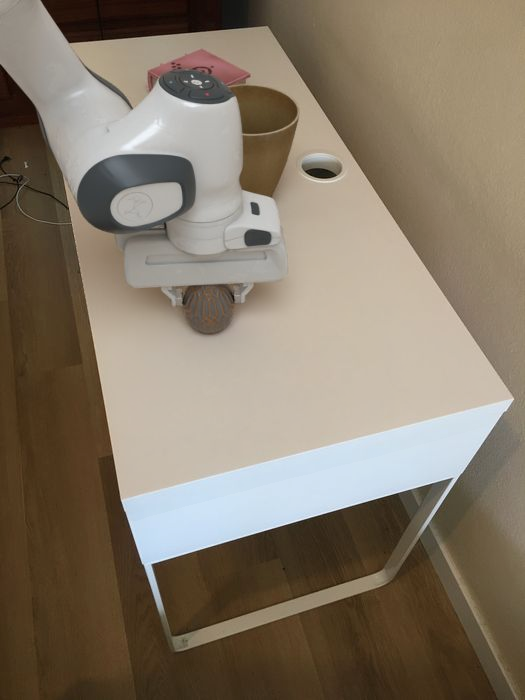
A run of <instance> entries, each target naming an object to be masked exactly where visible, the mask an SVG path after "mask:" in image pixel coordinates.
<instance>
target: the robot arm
mask: <svg viewBox="0 0 525 700" xmlns="http://www.w3.org/2000/svg"><path fill="white" fill-rule="evenodd" d="M0 65H1V67H2V68H3V69H4V70H5V71H6V72H7V74H8V75H9V76H10V77H11V79H12V80H13V81H14V82H15V83H16V84H17V86H18V87H19V88H20V89H21V90H22V92H23V93H24V94H25V95H26V96H27V97H28V98H29V100H30V101H31V102H32V104H33V106H34V108H35V110H36V115H37V118H38V122H39V127H40V131H41V134H42V137H43V140H44V141H45V143H46V145H47V147H48V149H49V151H50V152H51V154H52V156H53V158H54V159H55V160H56V162H57V164H58V166H59V169H60V171H61V174H62V175H63V177H64V179H65V182H66V184H67V186H68V189H69V191H70V193H71V195H72V197H73V199H74V201H75V203H76V205H77V208H78V210H79V212H80V214H81V215H82V217H83V218H84V219H85V221H87V223H88V224H90V225H91V226H92V227H94V228H95V229H97V230H99V231H102V232H103V233H108V234H113V235H114V238H115V243H116V246H117V248H118V249H119V251H121V252H122V253H123V275H124V280H125V281H124V282H125V283H126V284H127V285H128V286H130V287H131V288H133V289H141V288H142V289H144V288H146V289H147V288H160V290H161V292H162V293H163V294H164V295H165V296H167V297H168V299H170V301H171V306H172V307H183V297H184V291H183V288H177V287H188V286H191V285H212V284H228V285H233V284H239V285H233V286H232V293H233V297H234V303H235V304H245V303H246V296H247V295H248V293H249V292H250V291H251V290H252V289H253V288H254V285H255V284H256V283H274V282H282V281H284V279H286V277H287V276H288V275H289V259H288V258H289V257H288V252H287V244H286V240H285V235H284V229H283V226H282V222H281V221H282V220H281V214H280V211H279V208H278V205H277V203H276V200H275V198H273V197H268V196H263V195H259V194H255V193H251V192H248V191H244V190H242V188H241V185H240V182H239V177H240V174H241V171H242V167H243V136H242V123H241V116H240V110H239V105H238V101H237V98H236V96H235V94H234V93H233V92H232V91H231V89H230V88H229V87H228V86H227V85H226V84H225V83H224V82H222V81H221V80H220V79H218V78H217V77H215V76H213V75H210V74H207V73H204V72H202V71H198V70H192V69H177V70H172V71H168V72H166V73H164V74H162V75H161V76H160V77H159V78H158V80H157V82H156V84H155V86H154V87H153V89H152V90H151V92H150V91H149V93H148V94H146V96H145V97H144V98H143V99H142V100H141V101H140V102H139V103H138V104H137V105H136V106H135V107H134V108H133V106H132V103H131V102H130V100H129V99H128V97H127V96H126V95H125V93H124V92H122V91H121V90H120V89H119V88H118V86H116V85H114V84H113V83H111V82H110V81H108V80H107V79H105V78H104V77H103V76H100V75H99V74H97V73H96V72H95V71H93V70H92V69H90V68H89V67H88V66H86V64H84V62H83V61H82V59H81V58H80V57H79V56H78V54H77V53H76V51H75V50H74V48H73V47H72V46H71V44H70V42H69V41H68V40H67V37H66V36H65V34H63V32H62V31H61V29H60V28H59V26H58V25H57V23H56V22H55V20H54V19H53V17H52V16H51V14H50V13H49V12H48V10H47V8H46V7H45V5H44V4H43V2H42V0H0Z"/></svg>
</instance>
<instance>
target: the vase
mask: <svg viewBox="0 0 525 700" xmlns="http://www.w3.org/2000/svg"><path fill="white" fill-rule="evenodd" d="M235 306H236V303H234V297H233V290H232V289H231V287H230V286H229V284H212V285H191V286H186V289H185V290H184V293H183V306H182V310H183V314H184V317H185V319H186V321H187V323H188V324H189V325H190V326H191V327H192V328H193V329H195V330H196V331H198V332H199V333H202V334H216V333H219V332H221V331H222V330H224V329H225V328H227V326H228V325H229V324H230V323H231V321H232V319H233V316H234V313H235V308H236V307H235Z"/></svg>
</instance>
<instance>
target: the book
mask: <svg viewBox="0 0 525 700" xmlns="http://www.w3.org/2000/svg"><path fill="white" fill-rule="evenodd" d="M177 69H192V70H198V71H202V72H204V73H207V74H210V75H213V76H215V77H217V78H218V79H220V80H221V81H222V82H224V83H225V84H226V85H227V86H233V85H241V84H247V80H248V79H250V78H251V75H252V74H251V72H248V71H247V70H244V69H243V68H241V67H239V66H237V65H235V64H233V63H231V62H230V61H227V60H225V59H223V58H221V57H220V56H217V55H216V54H213V53H212V52H210V51H207V50H206V49H204V48H199V49H197V50H195V51H192V52H190V53H184V55H182V56H179V57H178V58H176V59H172V60H170V61H167V62H165V63H159V65H158V66H155V67H153V68H150V69H147V77H146V79H147V86H148V90H149V93H150V92H151V90H152V89H153V87H154V86H155V84H156V82H157V80H158V78H159V77H160V76H161V75H162V74H164V73H166V72H168V71H172V70H177Z"/></svg>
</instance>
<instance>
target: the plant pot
mask: <svg viewBox="0 0 525 700" xmlns="http://www.w3.org/2000/svg"><path fill="white" fill-rule="evenodd" d="M228 87H229V88H230V89H231V91H232V92H233V93H234V94H235V96H236V98H237V101H238V105H239V110H240V116H241V123H242V136H243V167H242V171H241V174H240V177H239V182H240V185H241V188H242V190H244V191H248V192H251V193H255V194H259V195H263V196H268V197H271V198H273V197H272V196H273V195H274V193H275V191H276V188H278V185H279V182H280V180H281V177H282V175H283V173H284V170H285V167H286V165H287V162H288V160H289V156H290V153H291V149H292V146H293V141H294V139H295V135H296V130H297V128H298V127H297V126H298V123H299V119H300V116H301V115H300V114H301V109H300V106H299V104H298V102H297V101H296V99H294V98H293V97H292V96H291V95H289V94H288V93H286V92H285V91H283V90H280V89H278V88H275V87H271V86H267V85H261V84H254V83H253V84H252V83H250V84H249V83H246V84H241V85H233V86H228Z"/></svg>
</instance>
